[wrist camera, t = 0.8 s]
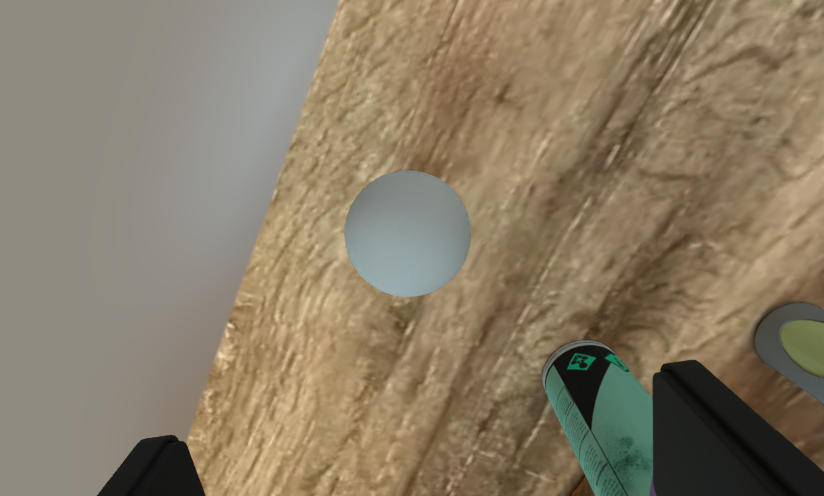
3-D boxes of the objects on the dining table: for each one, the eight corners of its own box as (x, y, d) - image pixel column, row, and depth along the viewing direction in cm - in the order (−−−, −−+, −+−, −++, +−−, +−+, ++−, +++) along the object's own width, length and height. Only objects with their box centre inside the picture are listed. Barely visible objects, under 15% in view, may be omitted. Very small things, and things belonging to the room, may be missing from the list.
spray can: (615, 406, 33) (895, 813, 14) (539, 409, 33) (718, 820, 14) (624, 338, 32) (953, 696, 13) (544, 340, 32) (753, 703, 13)
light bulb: (474, 191, 29) (509, 238, 19) (417, 265, 30) (422, 343, 20) (396, 133, 27) (391, 151, 18) (340, 212, 29) (308, 268, 19)
